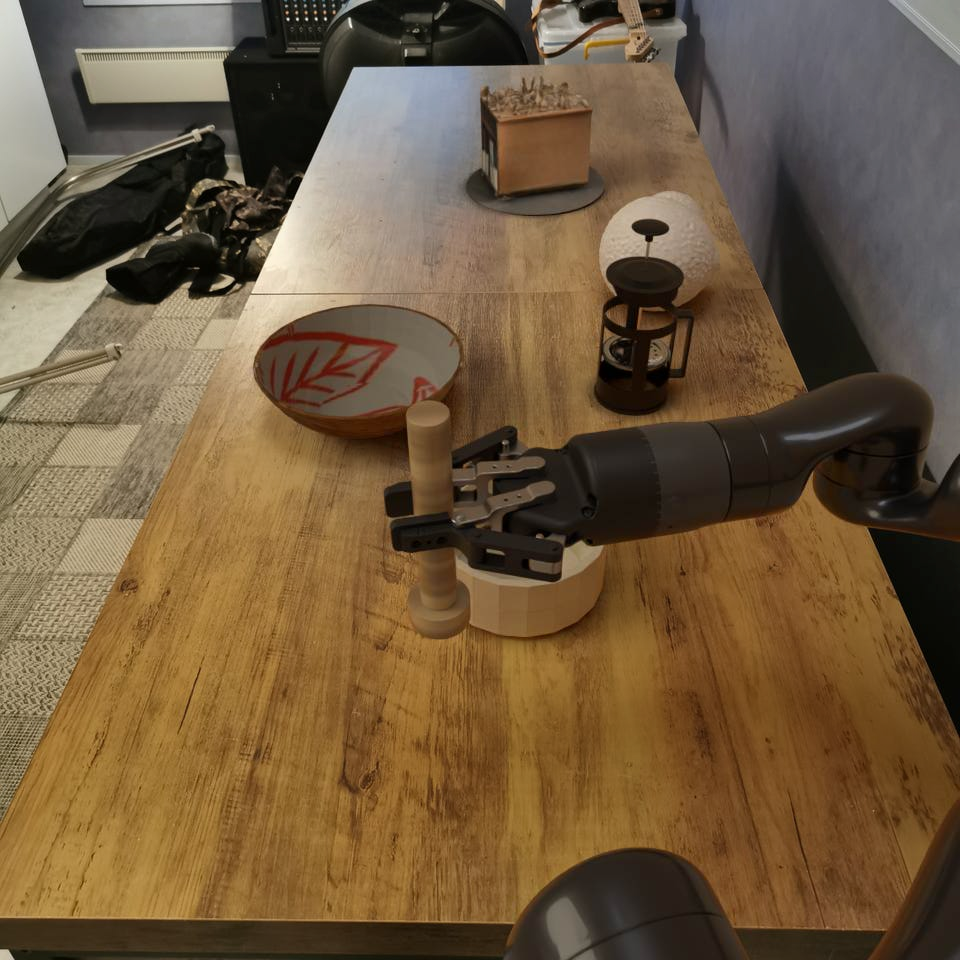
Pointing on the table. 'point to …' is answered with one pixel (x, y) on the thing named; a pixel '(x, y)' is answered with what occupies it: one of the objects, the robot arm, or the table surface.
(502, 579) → the cream open cylinder
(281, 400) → the bowl
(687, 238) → the decorative orb
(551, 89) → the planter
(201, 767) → the table surface
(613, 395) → the french press
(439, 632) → the wooden pestle
